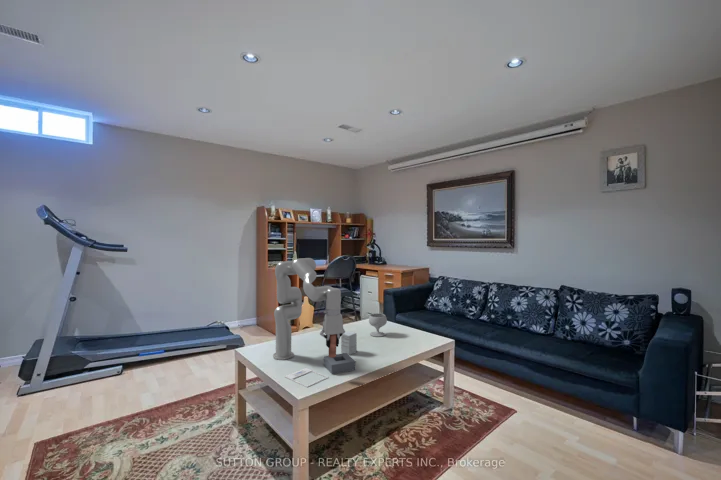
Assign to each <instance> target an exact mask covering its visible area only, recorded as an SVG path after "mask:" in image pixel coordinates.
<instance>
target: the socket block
mask: <svg viewBox="0 0 721 480" xmlns="http://www.w3.org/2000/svg"><path fill="white" fill-rule="evenodd" d="M323 365H324V367H325V368H326V369H327V370H328V372H329V373H330V374H331V375H335V374H341V373H347V372H353V371H356V360H355V359H354V358H353V357H352V356H351V355H348V354H347V353H336V357H334V358H331V357H329V356H328V355H324V356H323Z"/></svg>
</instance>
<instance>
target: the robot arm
mask: <svg viewBox="0 0 721 480" xmlns="http://www.w3.org/2000/svg"><path fill="white" fill-rule="evenodd" d="M316 269H317V264H316V261H315V260H314V259H313V258H311V257H305V258H301V257H300V258H297V259H294V260H288V261H287V260H285V261H280V262H278V263H276V266H275V268H274V275H275V279H276V280H275V281H276V301H277V302H278V304H284V305H279V306H277V307H276V308H275V309H274V311H273V316H274V321H275V322H274V323H275V353H273V355H272V358H273V359H274V360H280V361H282V360H283V361H285V360H288V359H292V358H293V357H294V356H295V353H294V352H293V351H292V325H291V324H290V322H289V321H291V320H295V319H299V318H300V317H301V316H302V313H303V311H302V310H303V309H302V308H303V307H302V305H303V304H302V303H303V296H302V294H303V293H302V291H301V289H300V288H299V287H297V286H291V285H292V283H291V282H292V281H291V279H290V277H289V276H294V275H297V276H298V277H299V278H300V279H301V280H302V281H303V282H302V288H303V291H304V294H305V295H306V296H307V298H308V299H310V301H312V302H322V301H326V303H325V305H326V306H325V307H326V308H325V310H323V314H324V317H323V322H322V329H321V331H320V332H319V335H320V336H321V337H323V338H324V339H325V346H326V347H327V348H328V349H329V348H330V340H329V337H330V335H334V334H337V337H336V348H337V347H339V344H340V340H341V336H342V334H344V333H345V332H346V330H345V328H344V322H343V321H344V320H343V314H341V299H342V298H341V296H342V291H341V289H340V288H337V287H332V286H331V285H324V286H322V285H321V286H316V287H315V286H314V285H313V283H314V282H315V280H316V279H317V272H316V271H315V270H316ZM289 303H290V304H289Z"/></svg>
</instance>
